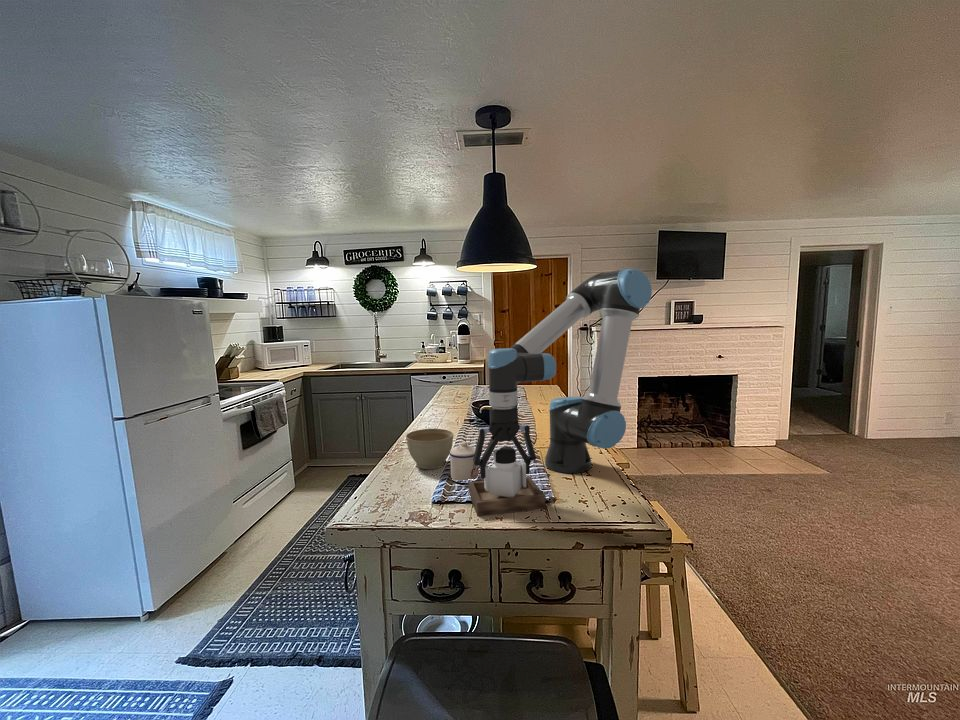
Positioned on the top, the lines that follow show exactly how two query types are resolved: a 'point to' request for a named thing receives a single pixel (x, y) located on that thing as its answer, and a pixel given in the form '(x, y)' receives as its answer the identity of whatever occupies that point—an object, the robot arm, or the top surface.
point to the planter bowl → (429, 447)
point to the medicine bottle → (505, 473)
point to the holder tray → (506, 499)
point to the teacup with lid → (463, 462)
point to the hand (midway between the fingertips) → (505, 487)
